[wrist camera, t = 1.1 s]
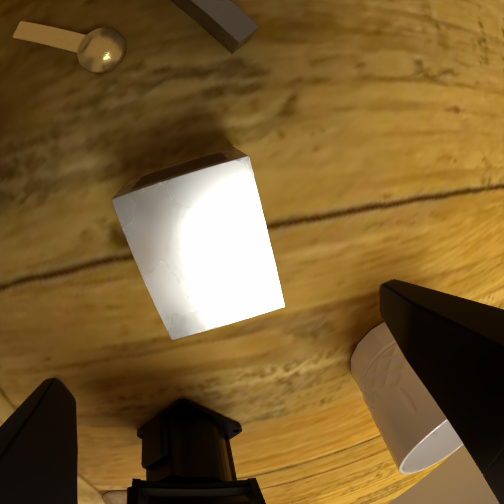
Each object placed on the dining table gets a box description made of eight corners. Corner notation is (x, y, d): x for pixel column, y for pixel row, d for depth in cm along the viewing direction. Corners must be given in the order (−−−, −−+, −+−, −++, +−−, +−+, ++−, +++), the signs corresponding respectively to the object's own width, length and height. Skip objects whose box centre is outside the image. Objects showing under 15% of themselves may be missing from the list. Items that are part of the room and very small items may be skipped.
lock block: (263, 264, 19) (284, 306, 15) (173, 292, 19) (171, 340, 14) (233, 146, 16) (248, 156, 12) (130, 178, 16) (111, 199, 11)
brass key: (134, 37, 13) (131, 34, 12) (113, 79, 13) (109, 77, 13) (32, 12, 10) (26, 9, 10) (13, 51, 11) (6, 49, 10)
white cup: (339, 331, 22) (409, 438, 13) (427, 295, 23) (510, 373, 14) (344, 396, 25) (392, 487, 16) (419, 362, 26) (477, 437, 17)
